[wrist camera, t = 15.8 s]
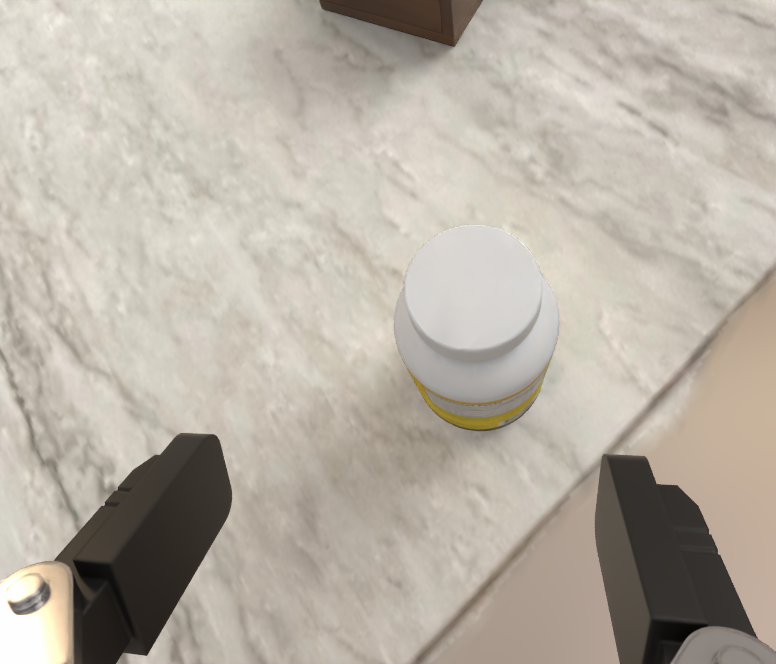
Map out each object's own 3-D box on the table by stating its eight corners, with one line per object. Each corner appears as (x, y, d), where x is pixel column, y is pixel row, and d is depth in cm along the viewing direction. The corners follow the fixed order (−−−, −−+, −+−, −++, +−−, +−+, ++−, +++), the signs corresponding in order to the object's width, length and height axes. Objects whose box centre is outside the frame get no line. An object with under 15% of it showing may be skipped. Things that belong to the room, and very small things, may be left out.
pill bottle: (461, 294, 31) (444, 170, 20) (566, 354, 29) (610, 252, 18) (394, 390, 30) (339, 312, 19) (498, 460, 28) (502, 416, 17)
